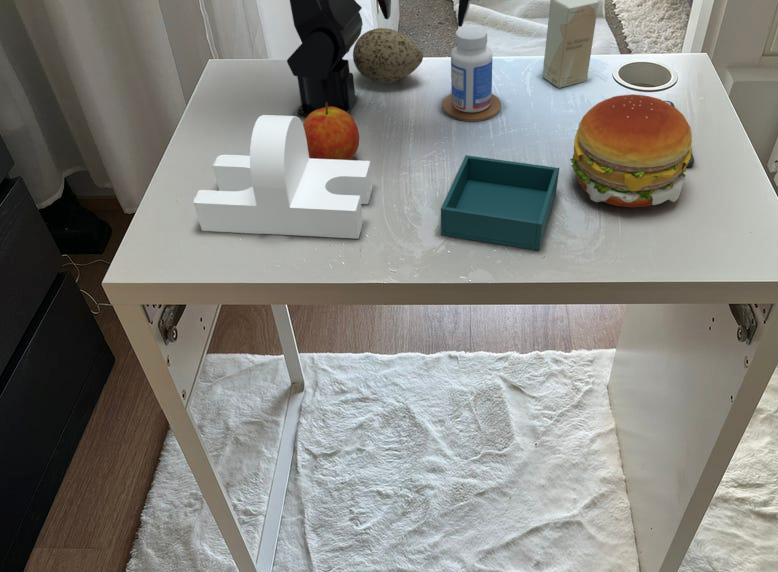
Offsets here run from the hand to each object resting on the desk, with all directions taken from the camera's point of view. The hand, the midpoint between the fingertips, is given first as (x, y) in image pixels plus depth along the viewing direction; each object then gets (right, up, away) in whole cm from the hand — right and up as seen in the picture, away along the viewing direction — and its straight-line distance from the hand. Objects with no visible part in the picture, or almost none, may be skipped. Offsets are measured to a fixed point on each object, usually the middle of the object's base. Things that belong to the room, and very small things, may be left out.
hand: (423, 21), depth 93 cm
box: (+20, -1, +17) cm, 26 cm away
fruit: (-11, -17, +3) cm, 20 cm away
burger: (+24, -20, -2) cm, 31 cm away
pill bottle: (+6, -6, +12) cm, 15 cm away
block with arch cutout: (-16, -24, -4) cm, 28 cm away
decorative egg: (-10, +2, +16) cm, 19 cm away
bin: (+9, -24, -5) cm, 26 cm away
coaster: (+6, -6, +12) cm, 15 cm away
